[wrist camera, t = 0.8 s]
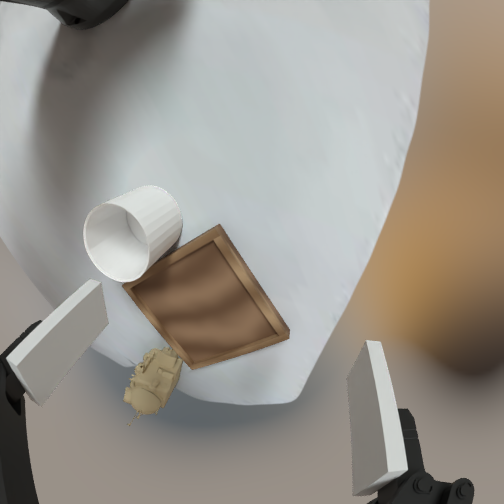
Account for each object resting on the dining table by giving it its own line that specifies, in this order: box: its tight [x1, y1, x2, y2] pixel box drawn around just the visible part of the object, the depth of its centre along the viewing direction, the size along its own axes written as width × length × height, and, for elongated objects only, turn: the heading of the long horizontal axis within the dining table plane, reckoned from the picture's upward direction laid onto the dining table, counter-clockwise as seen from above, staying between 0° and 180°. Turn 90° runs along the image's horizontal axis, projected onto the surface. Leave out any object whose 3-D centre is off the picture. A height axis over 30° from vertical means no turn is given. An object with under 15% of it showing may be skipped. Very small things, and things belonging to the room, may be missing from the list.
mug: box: [83, 186, 182, 282], centre depth 32 cm, size 12×9×9 cm
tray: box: [122, 224, 290, 370], centre depth 39 cm, size 18×18×2 cm
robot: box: [123, 347, 183, 426], centre depth 41 cm, size 10×8×15 cm
